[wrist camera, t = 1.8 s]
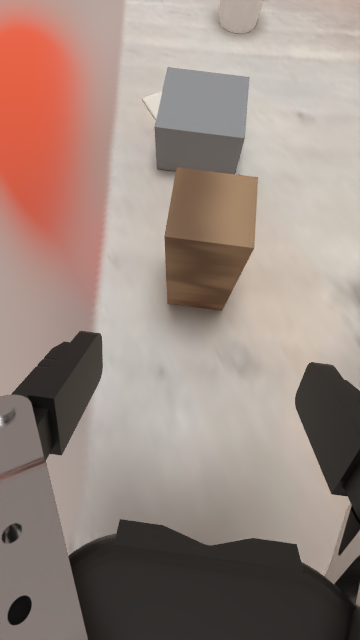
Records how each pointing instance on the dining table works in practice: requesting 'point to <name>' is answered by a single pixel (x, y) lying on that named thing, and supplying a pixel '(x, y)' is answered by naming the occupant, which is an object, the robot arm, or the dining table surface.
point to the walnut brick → (208, 236)
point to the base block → (201, 121)
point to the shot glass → (239, 15)
